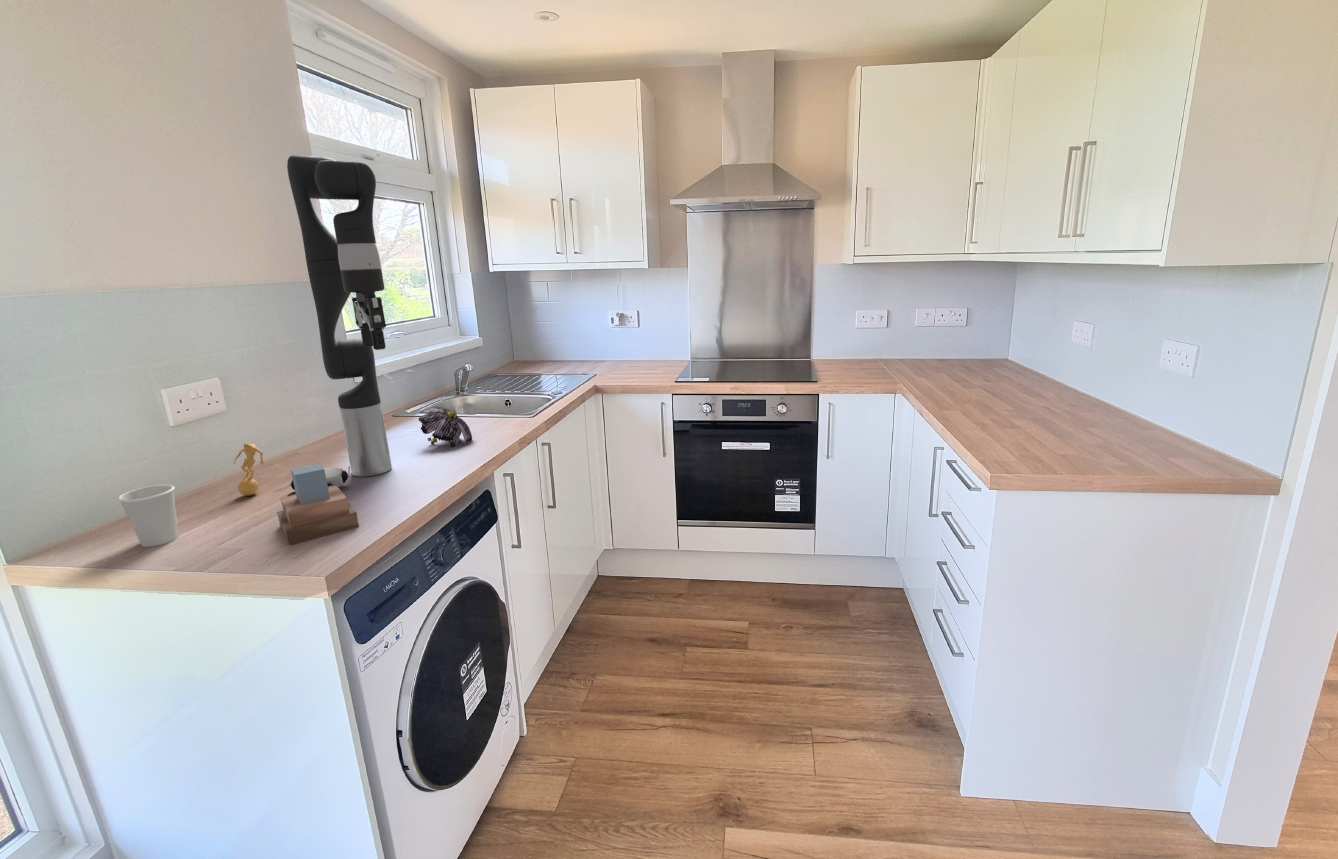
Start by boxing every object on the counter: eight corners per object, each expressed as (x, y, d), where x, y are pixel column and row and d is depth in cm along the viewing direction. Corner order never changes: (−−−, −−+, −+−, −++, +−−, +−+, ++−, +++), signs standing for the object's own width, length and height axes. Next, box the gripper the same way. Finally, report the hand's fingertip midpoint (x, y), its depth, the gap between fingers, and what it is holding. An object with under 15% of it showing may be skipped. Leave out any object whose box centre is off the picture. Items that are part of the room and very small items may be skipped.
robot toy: (345, 505, 135) (353, 480, 148) (341, 486, 133) (349, 462, 147) (282, 515, 131) (296, 488, 144) (277, 496, 130) (291, 470, 143)
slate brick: (296, 497, 121) (290, 469, 119) (325, 491, 124) (319, 463, 122) (301, 504, 117) (294, 475, 115) (330, 497, 120) (324, 468, 118)
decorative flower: (449, 418, 165) (412, 398, 171) (436, 458, 167) (400, 437, 173) (487, 420, 178) (451, 402, 184) (475, 457, 180) (440, 437, 186)
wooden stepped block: (280, 525, 123) (273, 497, 121) (345, 509, 130) (340, 482, 128) (289, 545, 114) (282, 515, 112) (358, 526, 121) (353, 498, 119)
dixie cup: (124, 553, 113) (109, 503, 111) (141, 536, 121) (127, 489, 118) (179, 544, 116) (166, 494, 114) (192, 528, 124) (180, 481, 121)
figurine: (228, 497, 141) (215, 447, 137) (251, 488, 146) (240, 439, 143) (256, 499, 138) (244, 448, 135) (279, 489, 144) (268, 441, 141)
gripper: (390, 266, 120) (403, 348, 125) (371, 267, 131) (384, 343, 136) (348, 267, 116) (363, 353, 120) (333, 269, 127) (347, 347, 131)
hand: (374, 347), depth 128 cm, fingers open, 8 cm apart
